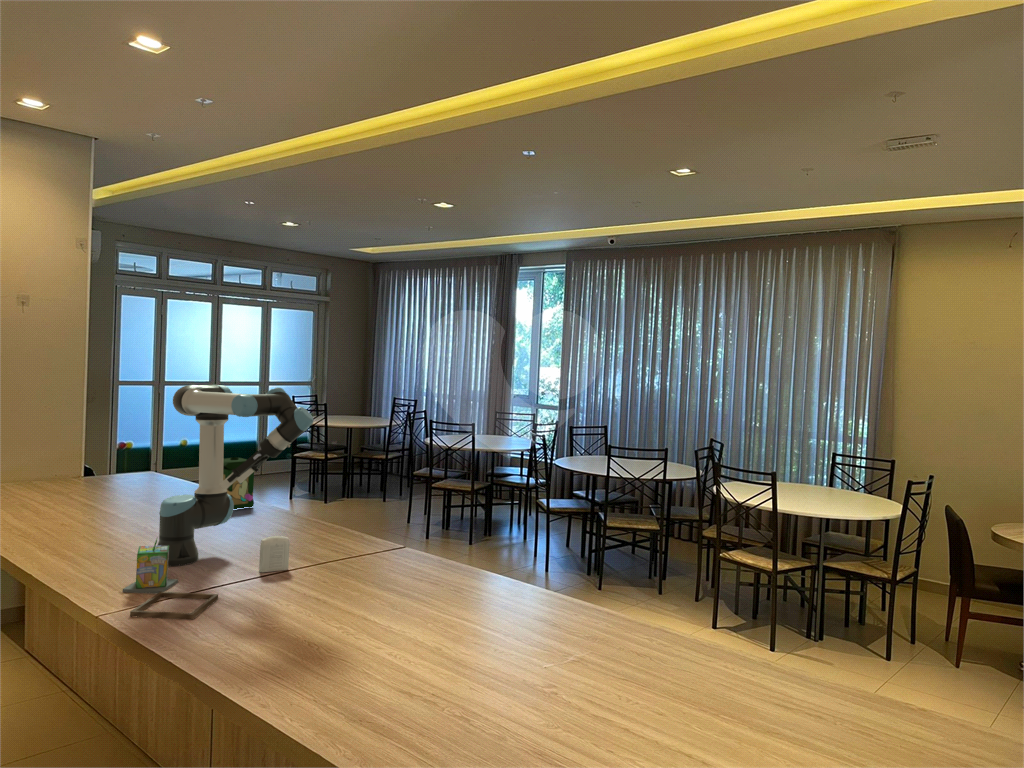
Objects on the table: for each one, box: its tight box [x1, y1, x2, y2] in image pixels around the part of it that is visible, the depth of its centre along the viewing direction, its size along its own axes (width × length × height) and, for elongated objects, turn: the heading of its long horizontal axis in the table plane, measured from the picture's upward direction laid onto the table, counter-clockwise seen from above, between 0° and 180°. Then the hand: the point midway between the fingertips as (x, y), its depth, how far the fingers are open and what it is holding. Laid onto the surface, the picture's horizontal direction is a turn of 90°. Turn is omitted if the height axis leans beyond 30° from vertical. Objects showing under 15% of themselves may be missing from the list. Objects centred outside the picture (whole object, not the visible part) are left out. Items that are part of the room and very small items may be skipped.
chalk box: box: [135, 536, 169, 589], centre depth 229 cm, size 9×9×15 cm
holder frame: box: [129, 591, 219, 621], centre depth 212 cm, size 18×18×2 cm
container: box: [223, 456, 255, 509], centre depth 352 cm, size 15×18×25 cm
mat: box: [122, 578, 179, 595], centre depth 229 cm, size 12×12×1 cm
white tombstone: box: [258, 535, 290, 573], centre depth 253 cm, size 10×4×12 cm, turn 123°
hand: (230, 483), depth 246 cm, fingers open, 13 cm apart
